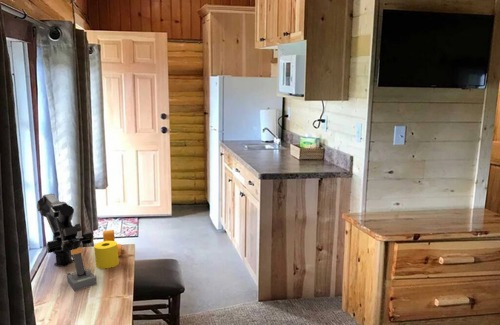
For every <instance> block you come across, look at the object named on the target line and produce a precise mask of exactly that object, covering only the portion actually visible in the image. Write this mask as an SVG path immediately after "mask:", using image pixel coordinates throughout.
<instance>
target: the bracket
mask: <svg viewBox="0 0 500 325" xmlns="http://www.w3.org/2000/svg"><path fill="white" fill-rule="evenodd" d="M102 237H103V241H115V231H114V229H109V230H103V231H102ZM117 248H118V257H120V256H121V255H122V244H118V243H117Z"/></svg>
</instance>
